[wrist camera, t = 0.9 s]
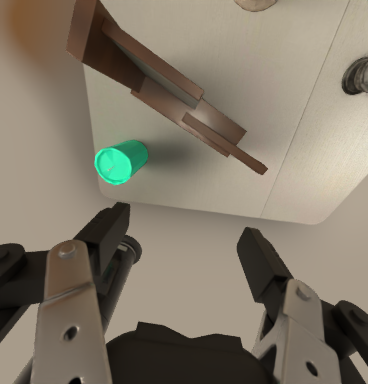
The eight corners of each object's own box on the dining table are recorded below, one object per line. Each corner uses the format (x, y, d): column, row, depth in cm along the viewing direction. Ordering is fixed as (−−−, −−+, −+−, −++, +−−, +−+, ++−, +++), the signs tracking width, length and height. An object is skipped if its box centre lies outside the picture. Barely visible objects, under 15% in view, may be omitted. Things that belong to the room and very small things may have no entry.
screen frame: (225, 156, 33) (259, 188, 17) (132, 94, 29) (62, 61, 13) (244, 130, 31) (302, 141, 15) (146, 59, 26) (81, -33, 11)
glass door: (231, 152, 31) (262, 176, 18) (184, 121, 29) (180, 121, 16) (235, 147, 30) (269, 167, 17) (187, 115, 28) (186, 110, 15)
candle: (148, 168, 35) (129, 190, 24) (122, 165, 35) (91, 186, 24) (148, 141, 32) (127, 152, 21) (120, 138, 32) (84, 147, 21)
